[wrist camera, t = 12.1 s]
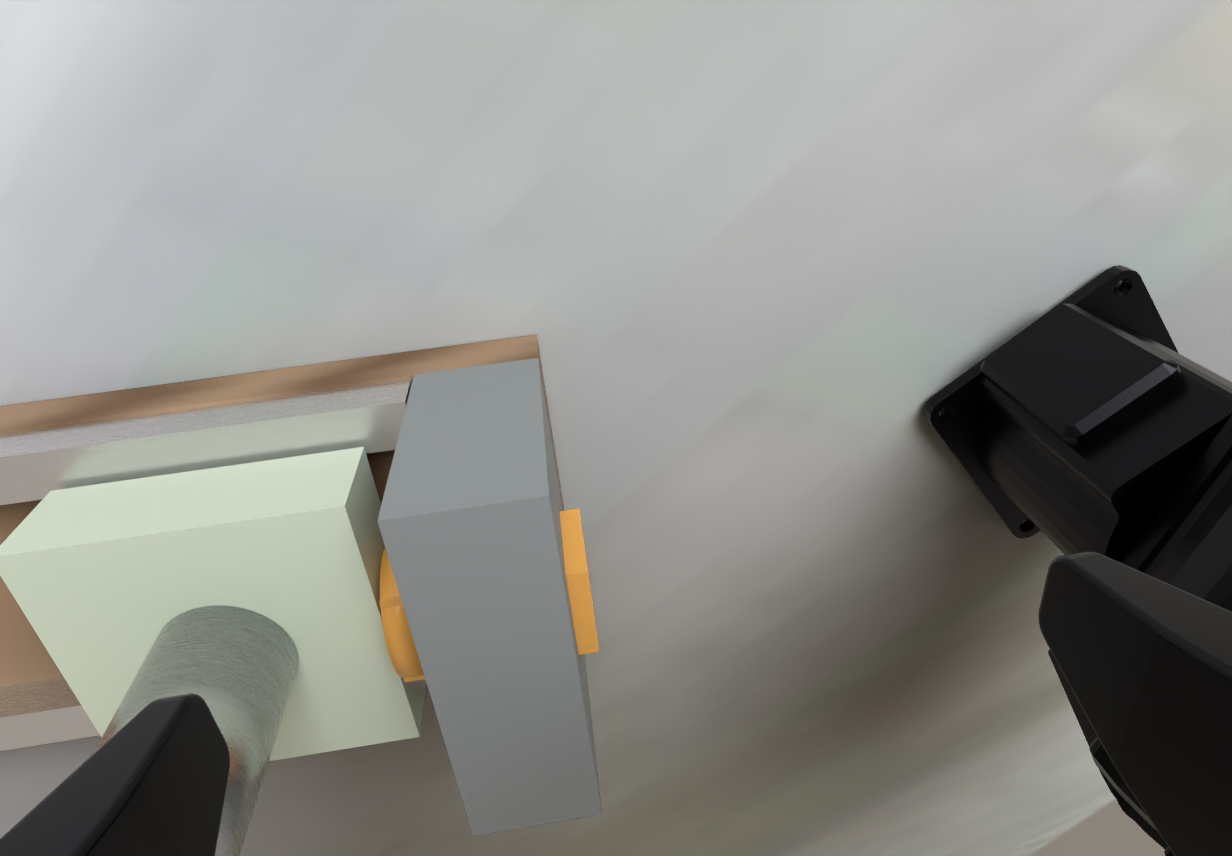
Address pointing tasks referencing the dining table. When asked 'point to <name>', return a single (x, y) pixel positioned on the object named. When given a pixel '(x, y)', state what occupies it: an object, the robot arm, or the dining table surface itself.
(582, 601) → the gauge plunger
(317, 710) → the carriage
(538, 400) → the rail
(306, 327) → the dining table surface
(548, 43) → the dining table surface
